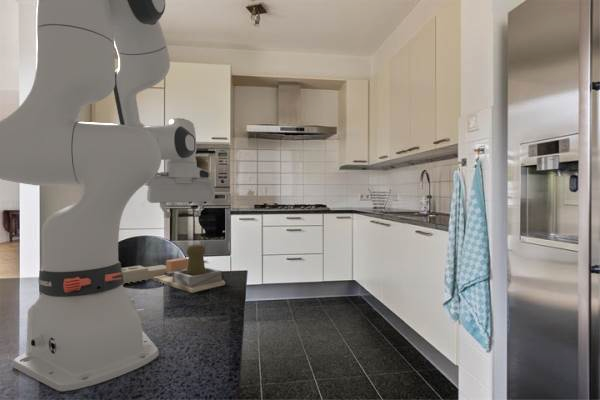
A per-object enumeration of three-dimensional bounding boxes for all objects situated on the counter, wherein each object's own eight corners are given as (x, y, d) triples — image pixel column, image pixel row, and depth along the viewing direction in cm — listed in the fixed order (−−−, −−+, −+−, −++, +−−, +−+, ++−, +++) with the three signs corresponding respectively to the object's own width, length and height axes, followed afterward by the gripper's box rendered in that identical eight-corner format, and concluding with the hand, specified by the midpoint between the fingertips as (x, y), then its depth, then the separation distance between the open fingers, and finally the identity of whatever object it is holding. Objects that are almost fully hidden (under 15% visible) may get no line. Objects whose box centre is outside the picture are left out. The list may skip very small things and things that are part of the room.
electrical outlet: (171, 264, 112) (111, 273, 99) (171, 277, 112) (111, 287, 99) (162, 262, 117) (104, 270, 105) (162, 273, 117) (104, 283, 105)
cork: (186, 285, 96) (185, 246, 96) (184, 280, 101) (184, 243, 101) (208, 282, 98) (207, 245, 98) (205, 278, 104) (204, 242, 104)
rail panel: (225, 284, 100) (224, 271, 100) (191, 292, 92) (191, 278, 92) (184, 274, 114) (184, 262, 114) (153, 280, 106) (152, 267, 106)
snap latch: (188, 268, 108) (188, 258, 108) (171, 271, 103) (171, 261, 103) (183, 266, 110) (183, 257, 110) (166, 270, 106) (165, 260, 106)
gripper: (149, 171, 96) (150, 219, 97) (216, 173, 109) (217, 215, 109) (143, 172, 101) (144, 218, 102) (208, 174, 114) (209, 214, 114)
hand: (182, 216), depth 106 cm, fingers open, 8 cm apart
